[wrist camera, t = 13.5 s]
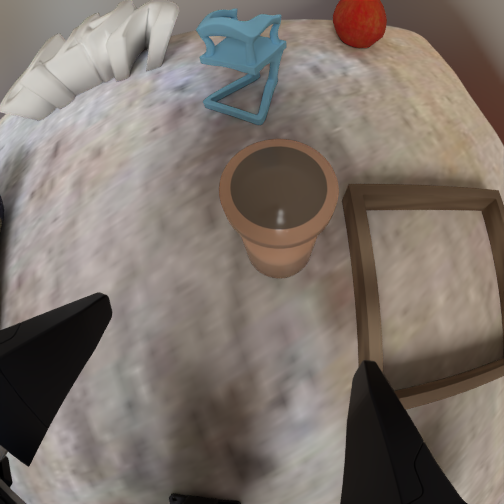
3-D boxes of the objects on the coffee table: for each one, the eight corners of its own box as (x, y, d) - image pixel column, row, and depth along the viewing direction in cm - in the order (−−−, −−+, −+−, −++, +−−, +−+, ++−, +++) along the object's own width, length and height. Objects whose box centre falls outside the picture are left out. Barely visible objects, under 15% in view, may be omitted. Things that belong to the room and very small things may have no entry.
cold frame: (508, 364, 18) (526, 364, 15) (358, 408, 19) (369, 417, 16) (484, 202, 23) (498, 190, 20) (342, 201, 25) (348, 184, 22)
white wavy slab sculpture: (194, 26, 38) (181, -19, 28) (191, 72, 33) (171, 11, 23) (42, 87, 39) (19, 56, 29) (15, 142, 34) (-17, 111, 24)
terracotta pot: (330, 255, 23) (362, 199, 14) (268, 297, 23) (261, 266, 13) (288, 200, 25) (291, 123, 15) (228, 237, 24) (198, 173, 15)
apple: (388, 59, 31) (402, 3, 21) (336, 52, 32) (343, -8, 22) (373, 35, 34) (382, -15, 23) (326, 29, 34) (330, -23, 24)
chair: (295, 86, 30) (296, 1, 18) (260, 126, 28) (250, 30, 17) (241, 70, 32) (229, -6, 20) (203, 107, 30) (177, 23, 18)
